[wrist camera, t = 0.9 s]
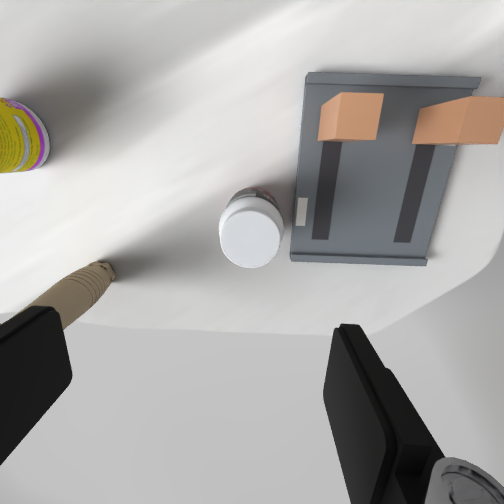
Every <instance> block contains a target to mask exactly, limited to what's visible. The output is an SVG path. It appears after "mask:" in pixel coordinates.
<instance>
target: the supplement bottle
mask: <svg viewBox="0 0 504 504" xmlns="http://www.w3.org/2000/svg"><path fill="white" fill-rule="evenodd" d="M49 149H50V142H49V137H48V134H47V131H46V129H45V127H44V125H43V123H42V122H41V120H40V119H39V118H38V116H37V115H36V114H35V113H34V112H33V111H31V110H30V109H29V108H28V107H26V106H24V105H23V104H21V103H18V102H16V101H13V100H9V99H4V98H0V174H2V173H13V172H24V171H31V170H34V169H37V168H38V167H40V166H41V165H42V164H43V163H44V162H45V161H46V159H47V157H48V154H49Z"/></svg>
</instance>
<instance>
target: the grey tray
mask: <svg viewBox="0 0 504 504" xmlns="http://www.w3.org/2000/svg"><path fill="white" fill-rule="evenodd" d="M480 80H481V77H450V76H418V75H385V74H353V73H321V72H308V74H307V75H306V77H305V89H304V100H303V111H302V123H301V134H300V145H299V156H298V168H297V179H296V190H295V202H294V213H293V224H292V235H291V247H290V259H291V261H294V262H321V263H349V264H376V265H404V266H426V265H427V261H428V259H426V258H425V255H426V252H427V248H428V245H429V241H430V238H431V234H432V231H433V227H434V224H435V220H436V217H437V213H438V210H439V206H440V203H441V199H442V196H443V192H444V189H445V185H446V182H447V178H448V175H449V171H450V168H451V165H452V161H453V158H454V154H455V151H456V147H457V145H426V144H412V141H413V137H414V132H415V128H416V124H417V119H418V115H419V111H420V109H421V108H425V107H429V106H433V105H437V104H441V103H445V102H449V101H453V100H457V99H461V98H465V97H469V96H471V95H472V91H473V89H477V88H478V87H479V84H480ZM341 92H352V93H384V97H383V102H382V108H381V113H380V119H379V124H378V129H377V135H376V140H368V141H355V142H335V141H318V132H319V123H320V114H321V106H322V105H323V104H324V103H326V102H327V101H329V100H330V99H332V98H333V97H335V96H336V95H338V94H339V93H341Z"/></svg>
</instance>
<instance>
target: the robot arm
mask: <svg viewBox="0 0 504 504" xmlns="http://www.w3.org/2000/svg"><path fill="white" fill-rule="evenodd" d="M71 380H72V370H71V364H70V360H69V355H68V350H67V346H66V341H65V336H64V332H63V327H62V322H61V318H60V314H59V312H57V311H56V310H55V308H54V307H51V306H37V305H34V306H30V307H28V308H27V309H25V310H24V311H22V312H20V313H19V314H17V315H16V316H14V317H13V318H11V319H9V320H8V321H6V322H5V323H3V324H1V325H0V465H1V464H2V463H3V462H4V461H5V460H6V458H7V457H8V456H9V455H10V454H11V452H12V451H13V450H14V449H15V448H16V447H17V445H18V444H19V443H20V442H21V440H23V438H24V437H25V436H26V435H27V434H28V433H29V431H30V430H31V429H32V428H33V427H34V426H35V424H36V423H37V422H38V421H39V420H40V418H41V417H42V416H43V415H44V414H45V413H46V411H47V410H48V409H49V408H50V406H52V404H53V403H54V402H55V401H56V400H57V399H58V397H59V396H60V395H61V394H62V393H63V392H64V390H65V389H66V388H67V387H68V386H69V384H70V382H71ZM323 398H324V403H325V407H326V411H327V415H328V418H329V422H330V426H331V430H332V434H333V437H334V441H335V445H336V448H337V453H338V456H339V460H340V464H341V468H342V472H343V475H344V479H345V483H346V487H347V490H348V494H349V498H350V502H351V504H504V487H503V486H502V485H501V484H500V483H499V482H498V481H497V480H495V479H494V478H493V477H492V476H491V475H489V474H488V473H487V472H485V471H484V470H482V469H480V468H479V467H478V466H476V465H473V464H471V463H469V462H467V461H465V460H462V459H458V458H454V457H450V458H449V457H448V458H446V457H445V456H444V454H443V453H442V451H441V449H440V448H439V446H438V445H437V443H436V442H435V440H434V438H433V437H432V435H431V434H430V432H429V430H428V429H427V427H426V425H425V424H424V422H423V421H422V419H421V417H420V416H419V414H418V413H417V411H416V409H415V408H414V406H413V405H412V403H411V401H410V400H409V398H408V397H407V395H406V393H405V392H404V390H403V388H402V387H401V385H400V384H399V382H398V381H397V379H396V377H395V376H394V374H393V373H392V372H391V370H390V369H388V368H385V366H384V365H383V363H382V361H381V360H380V358H379V356H378V355H377V353H376V351H375V350H374V348H373V346H372V345H371V344H370V341H369V340H368V338H367V336H366V335H365V333H364V331H363V330H362V328H361V327H360V325H356V324H341V325H340V327H339V328H335V329H334V332H333V338H332V344H331V350H330V355H329V361H328V366H327V372H326V378H325V383H324V390H323Z"/></svg>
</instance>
